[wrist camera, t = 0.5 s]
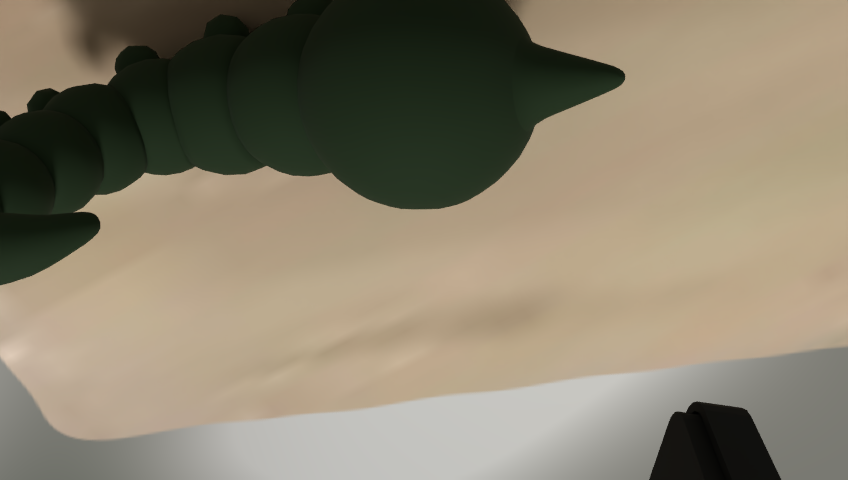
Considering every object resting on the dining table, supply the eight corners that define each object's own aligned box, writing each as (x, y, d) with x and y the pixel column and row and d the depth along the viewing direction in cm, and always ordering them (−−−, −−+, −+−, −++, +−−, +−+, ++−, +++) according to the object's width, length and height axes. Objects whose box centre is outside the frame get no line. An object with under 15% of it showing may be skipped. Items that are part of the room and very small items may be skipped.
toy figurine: (145, 181, 43) (618, 125, 38) (-117, 404, 26) (666, 361, 21) (82, 4, 39) (603, -86, 34) (-275, 136, 22) (647, -2, 17)
